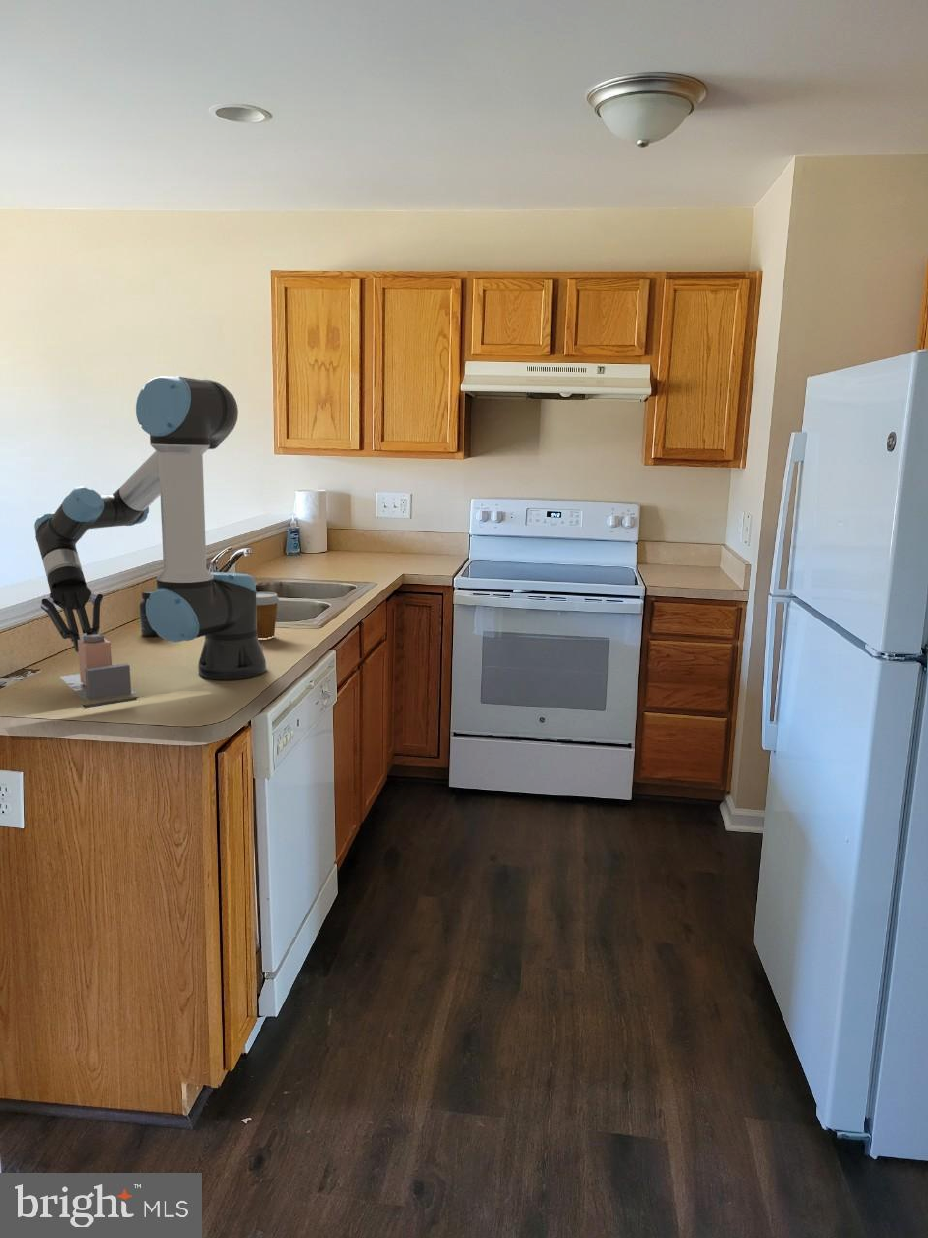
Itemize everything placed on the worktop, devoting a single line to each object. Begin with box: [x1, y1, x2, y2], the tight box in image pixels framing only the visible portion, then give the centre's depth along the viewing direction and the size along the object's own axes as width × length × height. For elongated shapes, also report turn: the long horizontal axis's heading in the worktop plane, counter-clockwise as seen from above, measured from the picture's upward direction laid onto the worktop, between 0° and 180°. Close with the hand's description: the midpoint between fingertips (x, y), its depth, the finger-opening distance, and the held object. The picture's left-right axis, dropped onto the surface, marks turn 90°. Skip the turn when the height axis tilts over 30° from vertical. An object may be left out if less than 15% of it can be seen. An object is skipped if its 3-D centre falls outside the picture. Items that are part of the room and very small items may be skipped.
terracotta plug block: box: [78, 633, 113, 686], centre depth 180 cm, size 6×5×10 cm
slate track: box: [59, 662, 138, 709], centre depth 181 cm, size 22×10×8 cm, turn 37°
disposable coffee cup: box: [256, 591, 280, 638], centre depth 231 cm, size 10×10×12 cm
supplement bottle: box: [138, 589, 160, 638], centre depth 233 cm, size 7×7×12 cm
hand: (89, 662), depth 183 cm, fingers closed
